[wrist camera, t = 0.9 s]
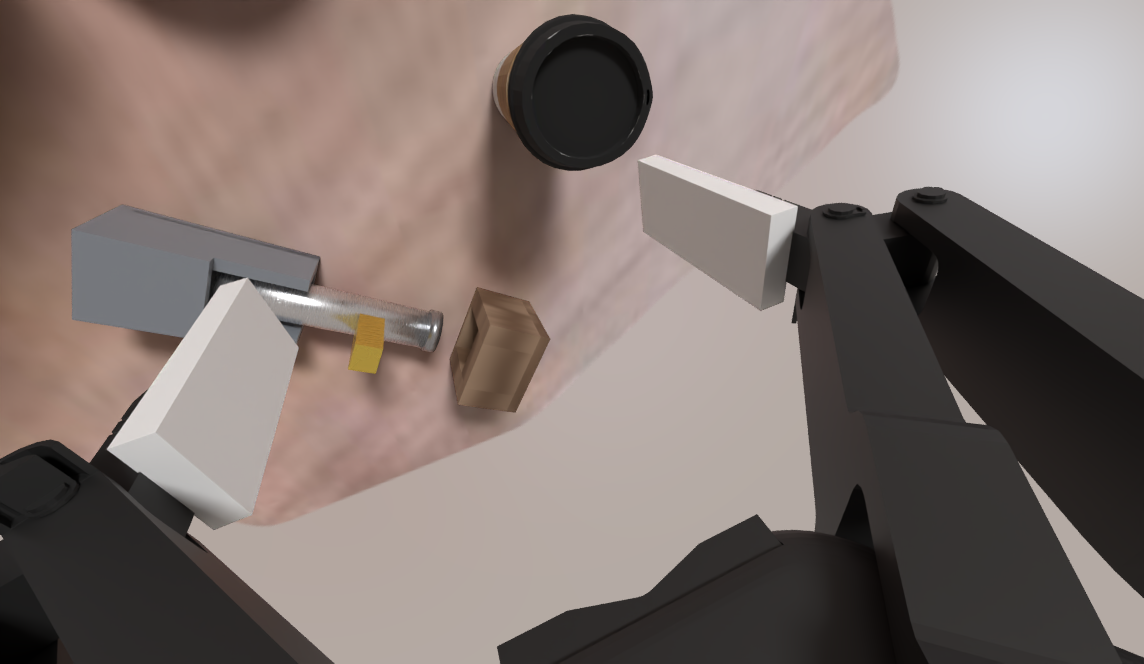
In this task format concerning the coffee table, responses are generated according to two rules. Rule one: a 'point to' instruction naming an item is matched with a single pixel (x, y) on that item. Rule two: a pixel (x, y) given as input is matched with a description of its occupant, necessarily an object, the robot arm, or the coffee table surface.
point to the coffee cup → (575, 92)
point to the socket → (497, 351)
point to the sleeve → (168, 270)
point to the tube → (348, 318)
